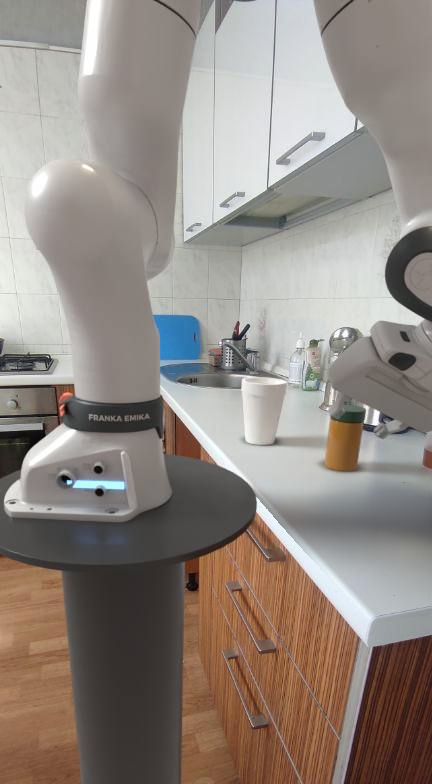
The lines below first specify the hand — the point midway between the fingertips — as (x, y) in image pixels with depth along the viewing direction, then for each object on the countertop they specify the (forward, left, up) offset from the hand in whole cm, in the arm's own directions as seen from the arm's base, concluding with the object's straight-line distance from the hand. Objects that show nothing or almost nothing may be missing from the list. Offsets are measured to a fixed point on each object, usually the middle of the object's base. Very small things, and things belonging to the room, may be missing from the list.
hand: (355, 424), depth 72 cm
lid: (+4, +12, 0) cm, 13 cm away
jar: (+4, +12, -11) cm, 17 cm away
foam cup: (-7, +29, -11) cm, 32 cm away
